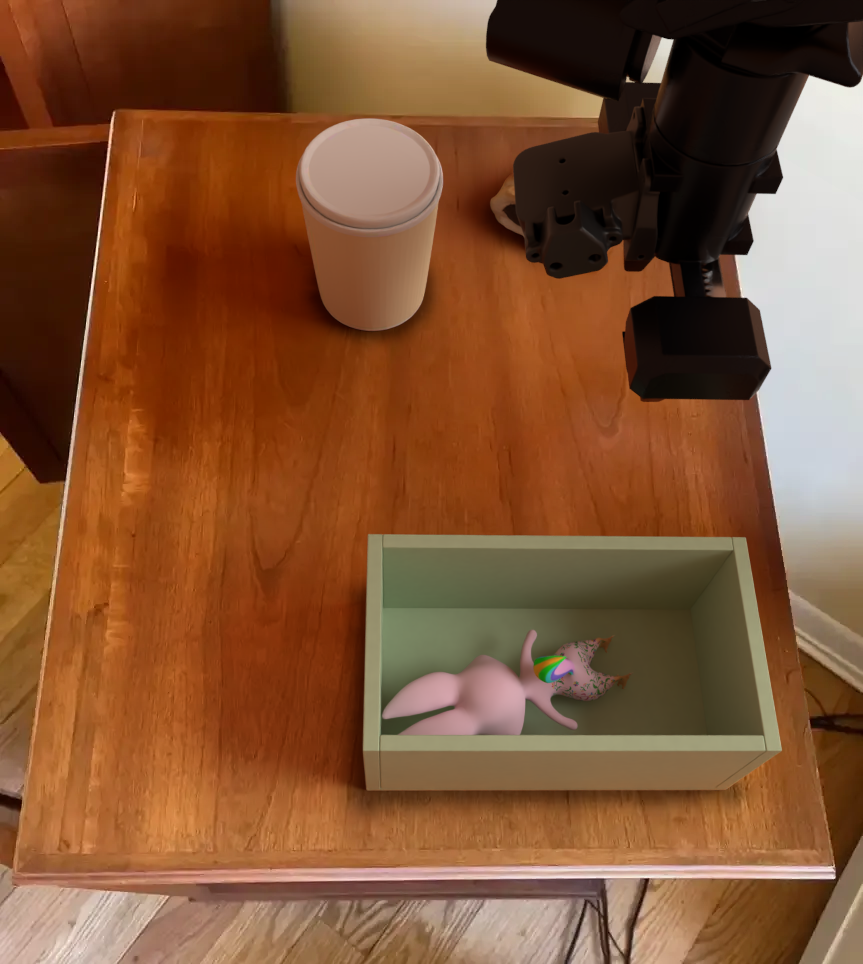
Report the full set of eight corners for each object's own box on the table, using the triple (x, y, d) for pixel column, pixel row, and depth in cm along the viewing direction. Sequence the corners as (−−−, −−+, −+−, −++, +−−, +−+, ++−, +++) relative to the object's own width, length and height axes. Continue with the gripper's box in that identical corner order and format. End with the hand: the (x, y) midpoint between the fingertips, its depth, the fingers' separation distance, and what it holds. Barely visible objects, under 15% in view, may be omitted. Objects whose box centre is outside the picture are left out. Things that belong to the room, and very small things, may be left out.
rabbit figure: (580, 628, 63) (359, 687, 57) (622, 585, 59) (387, 643, 52) (623, 722, 61) (397, 794, 54) (672, 684, 56) (431, 759, 49)
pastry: (557, 152, 82) (564, 115, 78) (624, 196, 80) (635, 159, 76) (481, 216, 78) (486, 180, 75) (550, 264, 76) (558, 229, 73)
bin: (699, 600, 64) (746, 536, 55) (725, 790, 58) (782, 751, 50) (370, 598, 63) (367, 533, 55) (366, 790, 57) (362, 750, 49)
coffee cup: (434, 240, 77) (441, 114, 66) (438, 341, 72) (446, 223, 62) (310, 239, 76) (297, 113, 66) (306, 341, 72) (292, 223, 61)
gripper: (524, -24, 49) (495, 207, 63) (549, 283, 40) (508, 472, 54) (753, -17, 49) (674, 210, 63) (827, 288, 40) (716, 475, 54)
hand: (640, 332), depth 58 cm, fingers open, 9 cm apart
